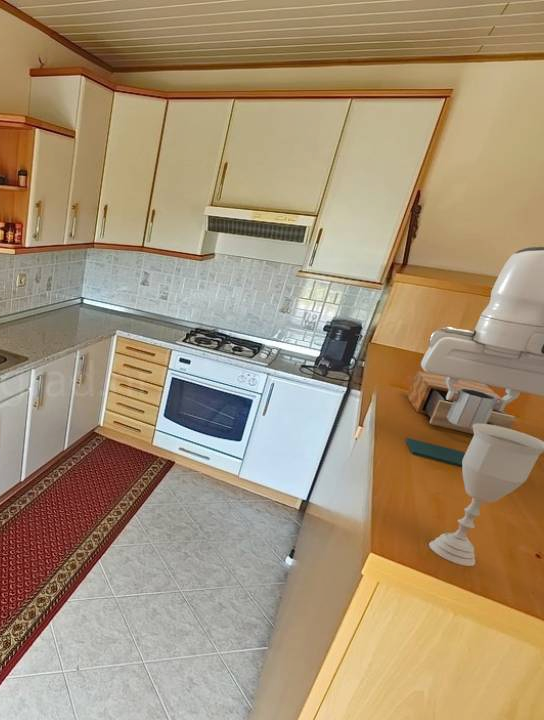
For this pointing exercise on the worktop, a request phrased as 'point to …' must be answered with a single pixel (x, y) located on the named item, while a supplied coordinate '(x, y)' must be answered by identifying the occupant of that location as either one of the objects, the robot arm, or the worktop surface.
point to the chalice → (488, 481)
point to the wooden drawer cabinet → (438, 388)
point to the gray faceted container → (471, 408)
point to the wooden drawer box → (440, 408)
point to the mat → (436, 452)
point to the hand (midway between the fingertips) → (473, 405)
